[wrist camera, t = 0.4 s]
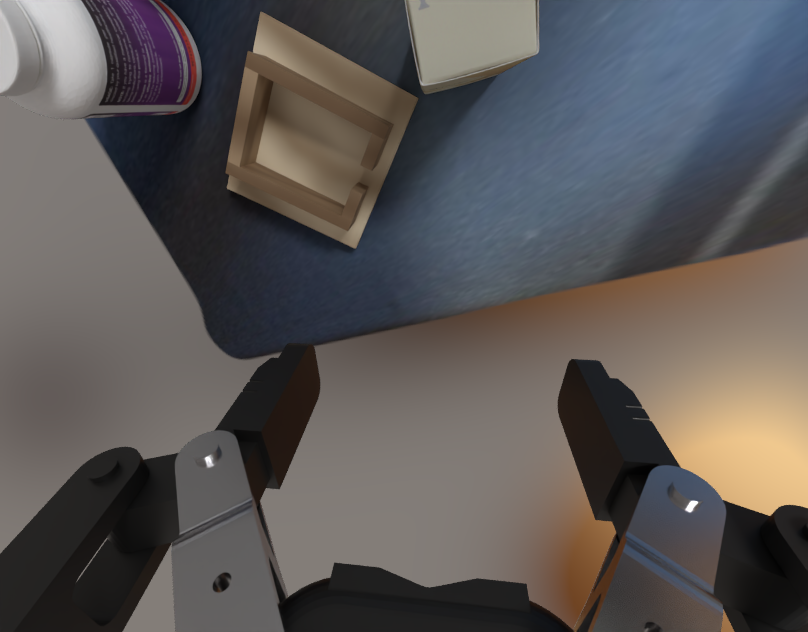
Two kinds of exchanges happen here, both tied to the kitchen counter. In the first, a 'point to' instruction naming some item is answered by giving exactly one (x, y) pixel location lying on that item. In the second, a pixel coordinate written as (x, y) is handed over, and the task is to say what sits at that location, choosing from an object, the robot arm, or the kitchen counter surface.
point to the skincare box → (470, 39)
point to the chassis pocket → (314, 132)
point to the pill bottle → (97, 58)
